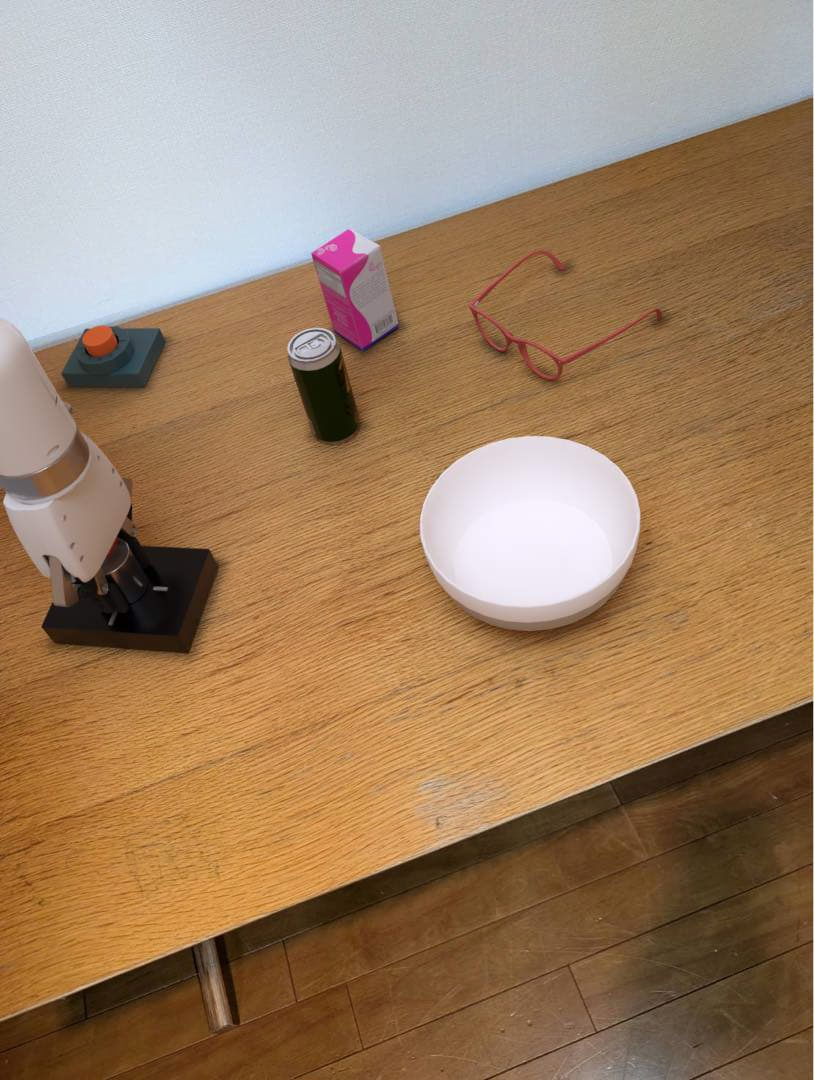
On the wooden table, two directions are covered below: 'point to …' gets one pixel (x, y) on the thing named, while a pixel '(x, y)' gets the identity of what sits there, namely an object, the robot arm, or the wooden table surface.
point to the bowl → (530, 531)
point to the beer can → (324, 385)
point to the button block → (116, 360)
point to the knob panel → (145, 607)
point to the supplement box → (356, 289)
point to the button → (99, 341)
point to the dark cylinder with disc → (125, 571)
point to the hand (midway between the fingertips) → (124, 585)
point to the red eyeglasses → (523, 342)
